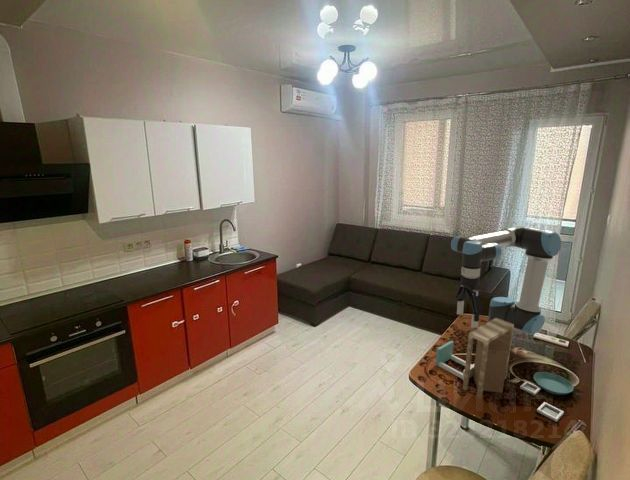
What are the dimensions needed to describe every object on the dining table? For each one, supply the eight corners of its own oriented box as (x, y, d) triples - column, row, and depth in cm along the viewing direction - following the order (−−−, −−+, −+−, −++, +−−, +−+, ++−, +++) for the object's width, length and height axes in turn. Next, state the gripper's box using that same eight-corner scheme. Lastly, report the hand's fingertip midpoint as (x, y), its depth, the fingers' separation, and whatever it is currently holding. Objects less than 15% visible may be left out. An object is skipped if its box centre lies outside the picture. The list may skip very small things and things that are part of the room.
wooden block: (502, 393, 148) (508, 352, 144) (478, 390, 150) (483, 349, 145) (495, 379, 158) (501, 340, 153) (472, 376, 160) (477, 337, 155)
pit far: (543, 404, 142) (544, 401, 141) (563, 414, 136) (564, 411, 136) (536, 411, 138) (537, 409, 137) (556, 422, 132) (557, 419, 132)
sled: (449, 356, 175) (451, 340, 173) (479, 371, 163) (481, 354, 161) (435, 364, 168) (436, 348, 166) (465, 381, 156) (467, 363, 154)
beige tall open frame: (489, 369, 165) (496, 317, 158) (506, 378, 158) (514, 324, 152) (462, 388, 151) (468, 332, 145) (480, 398, 145) (487, 340, 138)
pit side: (525, 383, 155) (526, 380, 155) (540, 390, 150) (541, 387, 150) (519, 388, 151) (520, 386, 151) (534, 395, 147) (535, 393, 146)
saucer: (568, 381, 156) (569, 376, 156) (576, 402, 143) (577, 396, 143) (530, 373, 162) (531, 368, 161) (535, 392, 149) (536, 387, 148)
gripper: (449, 268, 163) (447, 309, 168) (476, 285, 139) (472, 333, 143) (465, 267, 164) (462, 309, 168) (494, 285, 139) (490, 333, 143)
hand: (466, 320), depth 156 cm, fingers open, 13 cm apart
